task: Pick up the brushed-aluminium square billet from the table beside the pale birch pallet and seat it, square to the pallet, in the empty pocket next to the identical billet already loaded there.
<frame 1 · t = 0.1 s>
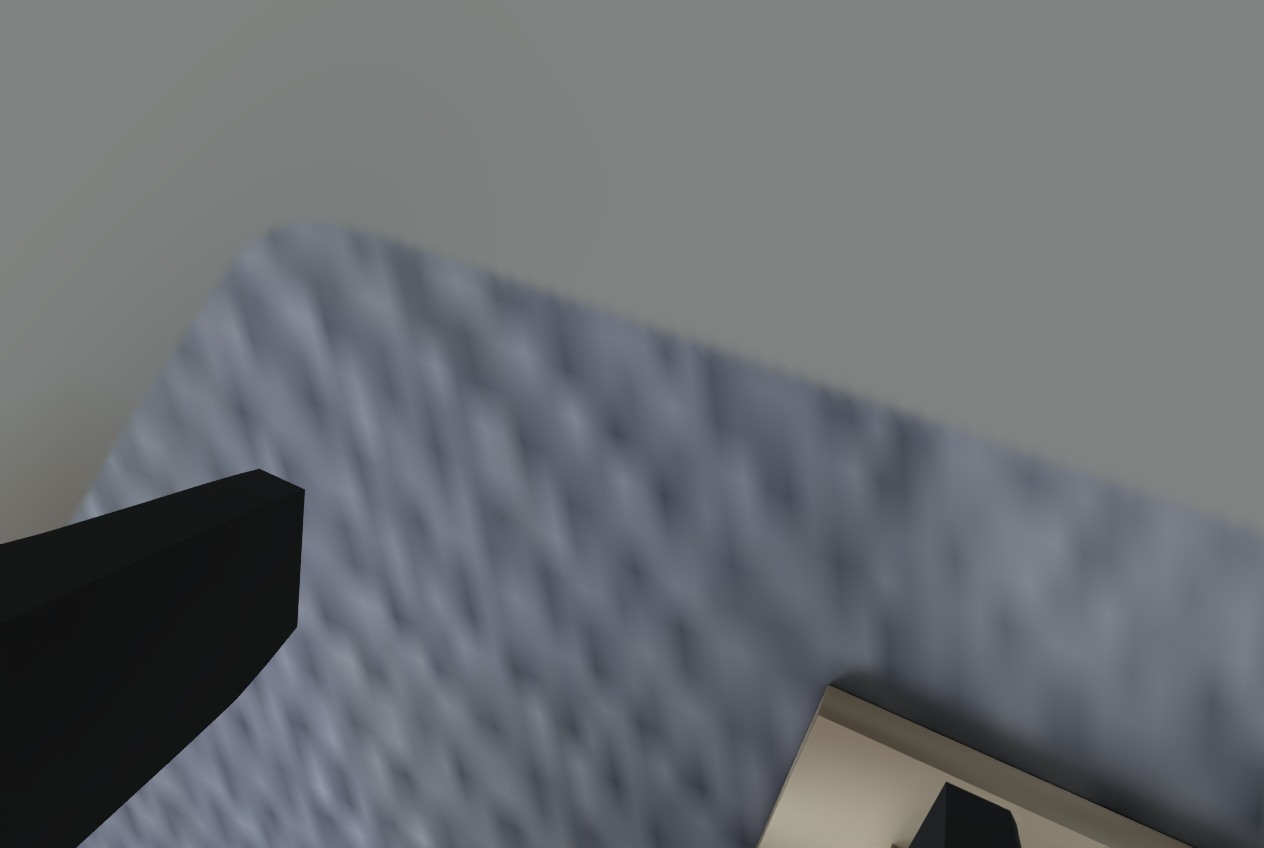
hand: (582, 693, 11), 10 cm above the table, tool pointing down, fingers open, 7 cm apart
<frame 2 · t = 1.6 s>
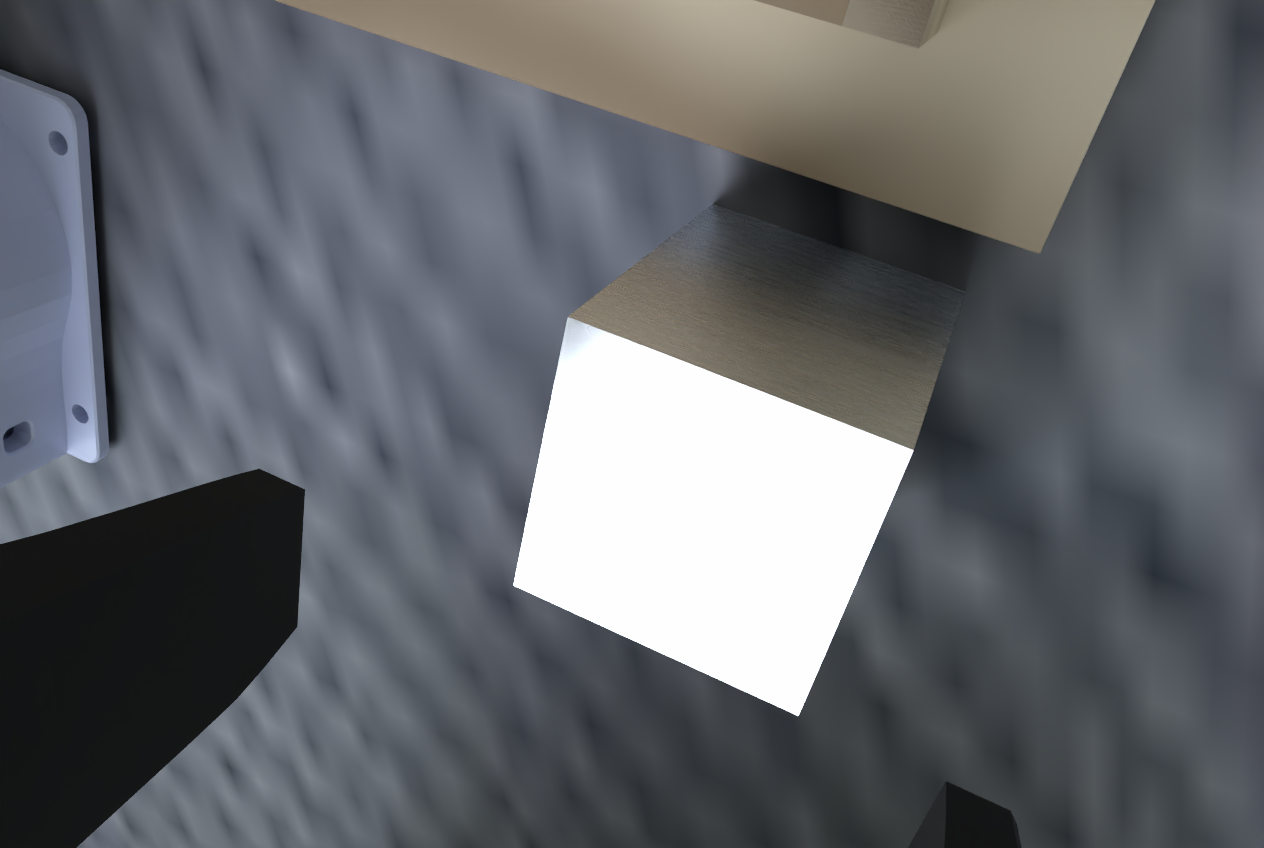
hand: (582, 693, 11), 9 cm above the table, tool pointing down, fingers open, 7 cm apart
billet: (796, 360, 18), on the table
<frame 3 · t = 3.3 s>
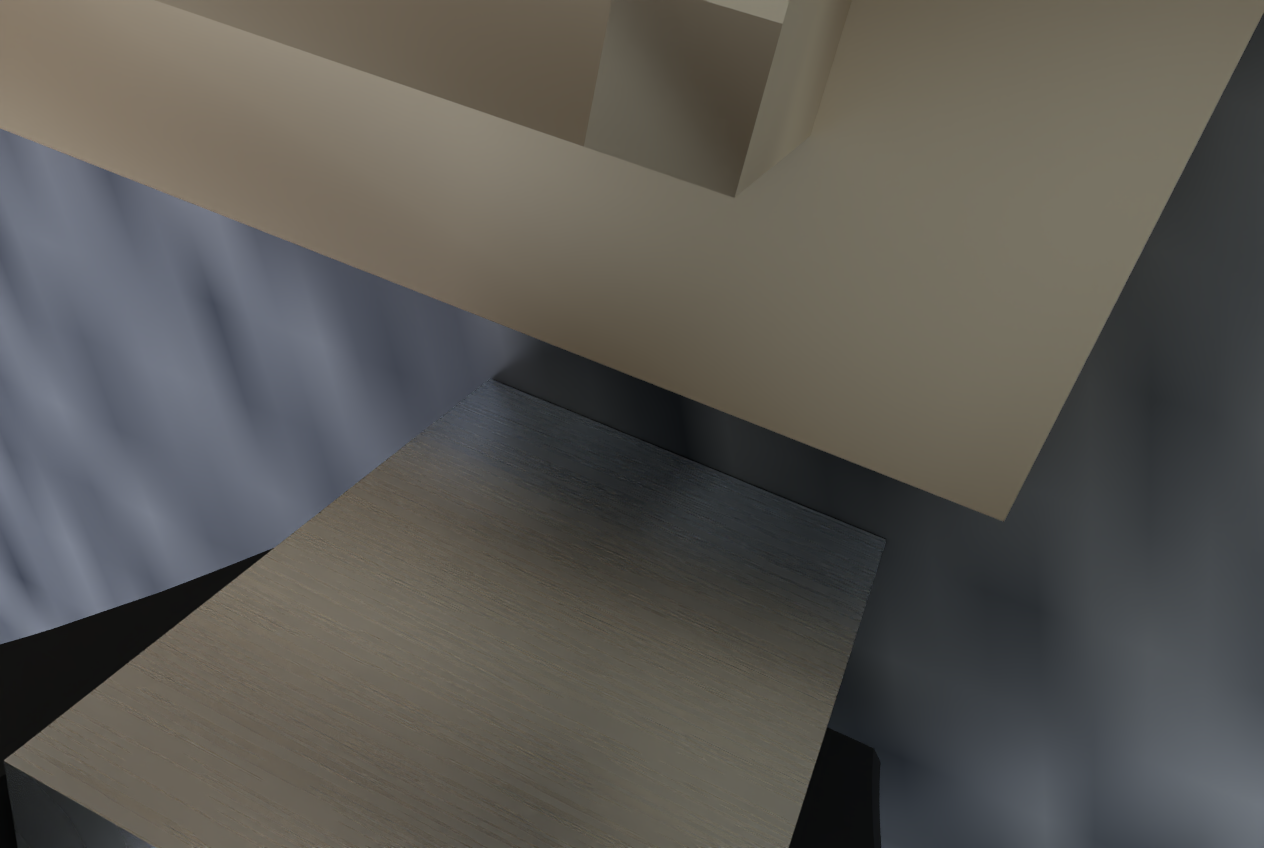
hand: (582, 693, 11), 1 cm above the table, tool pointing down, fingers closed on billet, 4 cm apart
billet: (633, 614, 12), on the table, touching gripper
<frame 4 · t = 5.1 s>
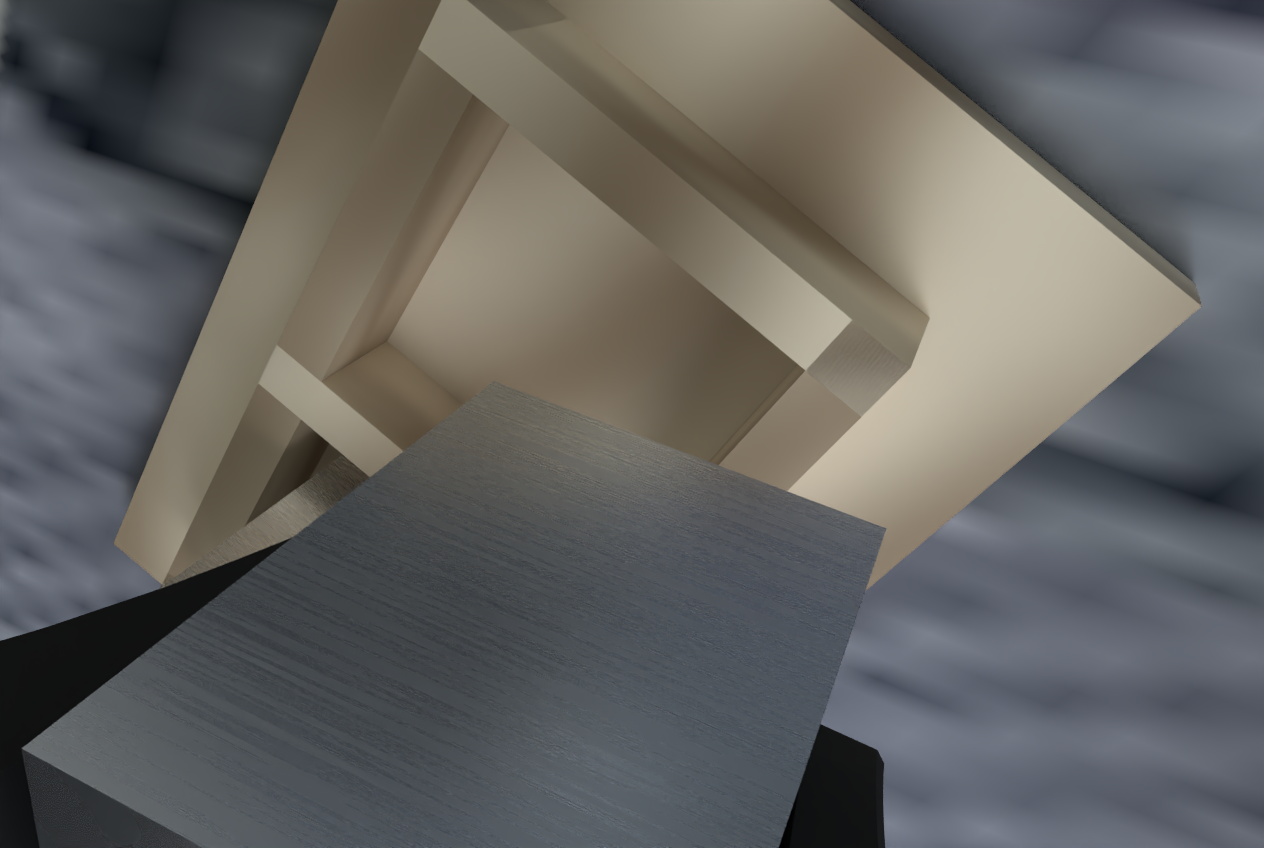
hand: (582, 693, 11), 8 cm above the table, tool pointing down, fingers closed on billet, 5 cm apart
billet: (640, 610, 12), point 7 cm above the table, touching gripper
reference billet: (422, 563, 21), point 1 cm above the table, touching pallet
pallet: (521, 437, 20), on the table
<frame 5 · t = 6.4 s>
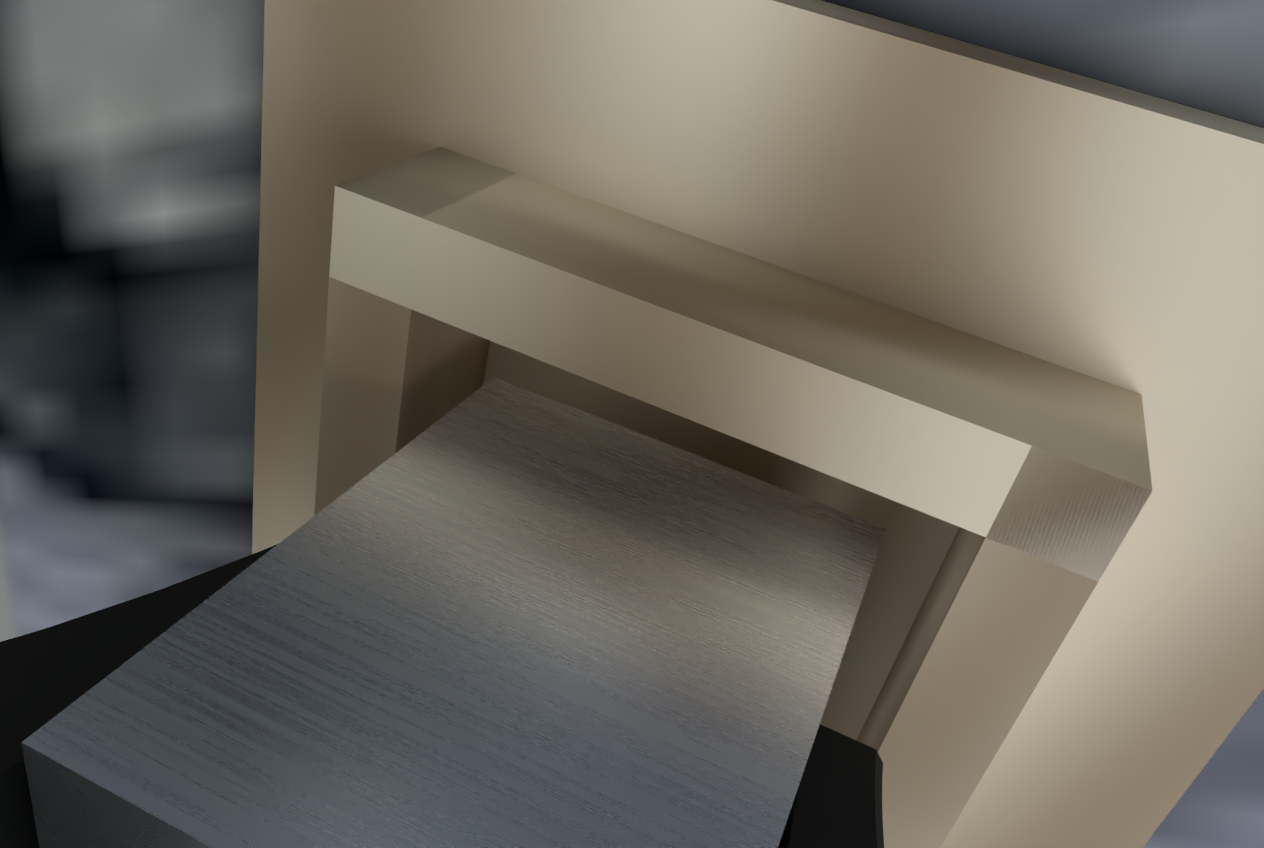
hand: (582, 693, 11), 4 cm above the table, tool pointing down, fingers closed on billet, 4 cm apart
billet: (639, 608, 12), point 2 cm above the table, touching gripper
pallet: (644, 688, 16), on the table
when the fingers open (4 cm above the table, at t = 7.0 s): billet drops 1 cm, resting on pallet.
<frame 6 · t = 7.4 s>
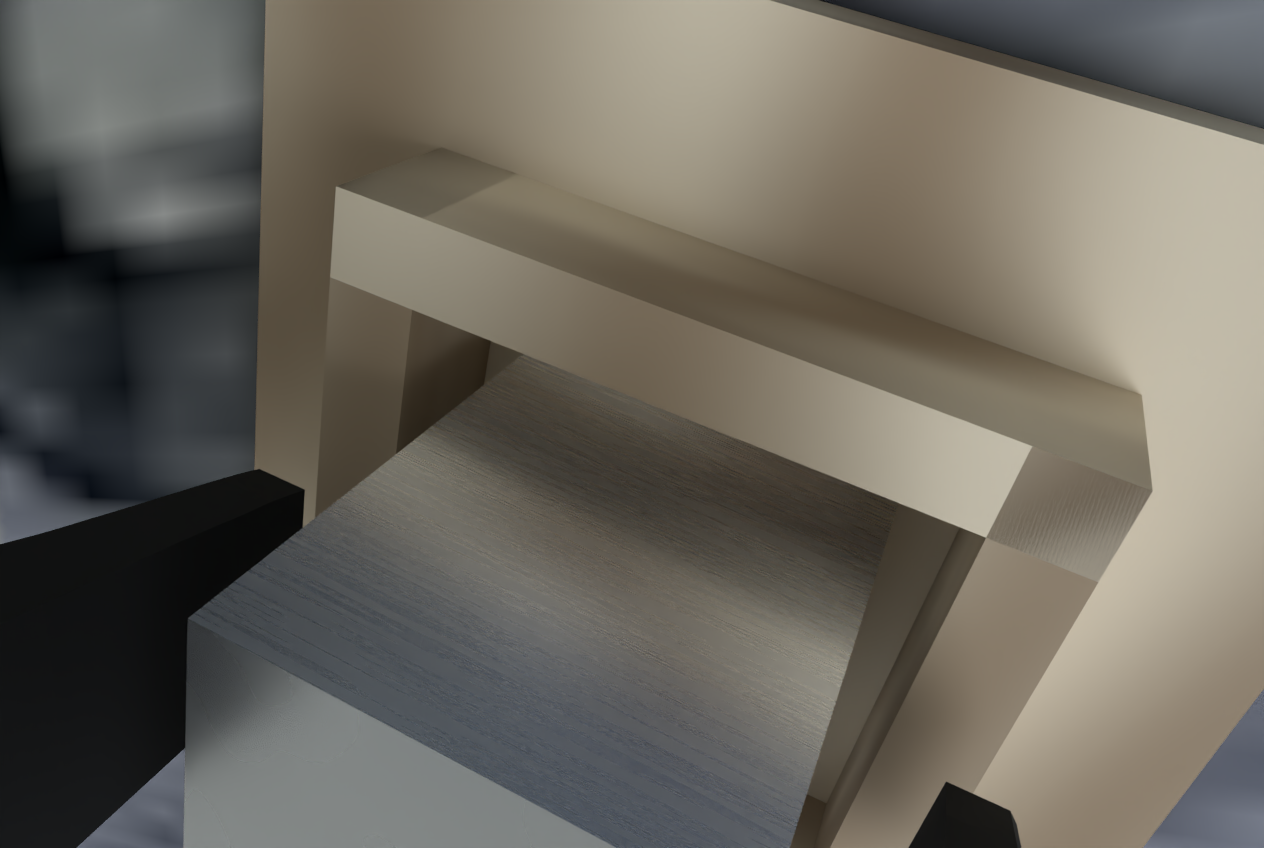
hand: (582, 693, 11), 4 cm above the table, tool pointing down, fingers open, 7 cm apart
billet: (671, 549, 13), point 1 cm above the table, touching pallet
pallet: (645, 689, 16), on the table
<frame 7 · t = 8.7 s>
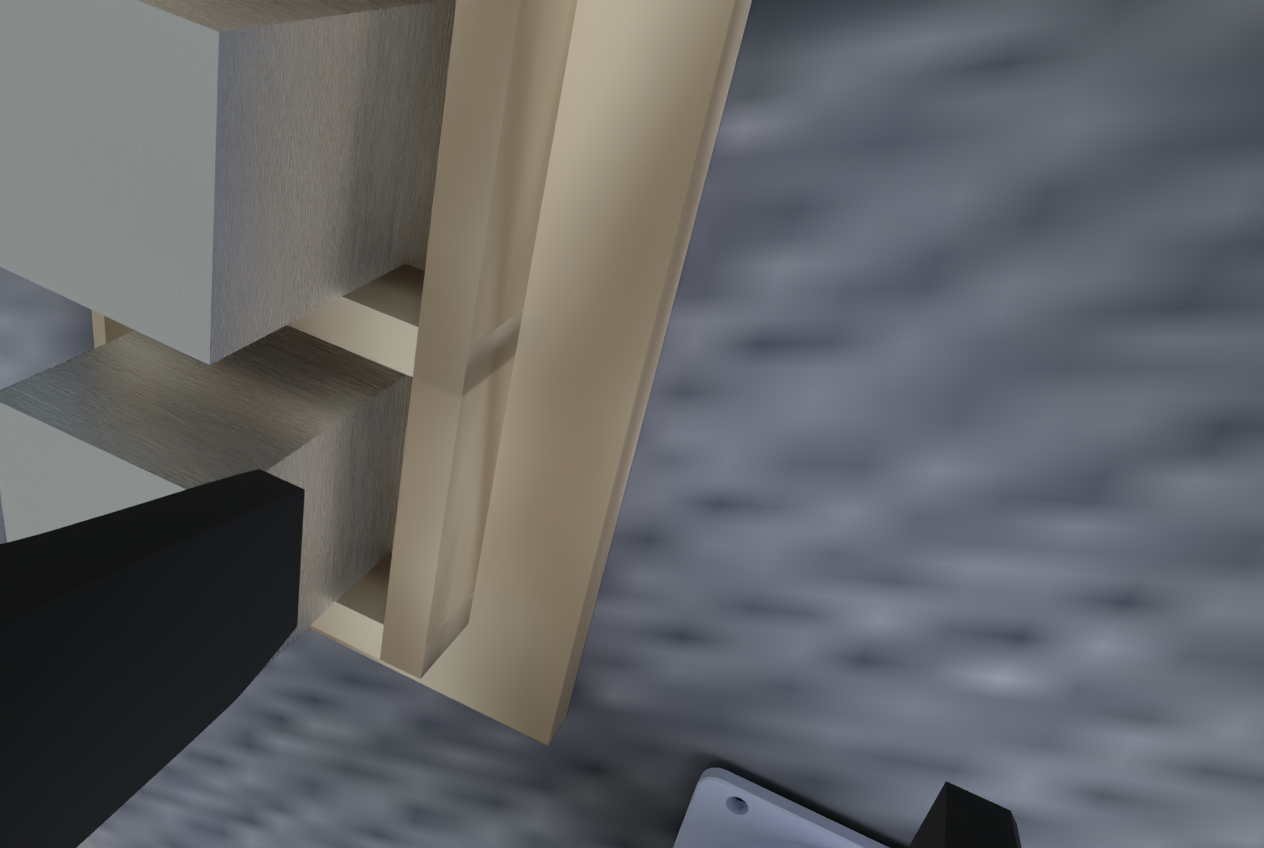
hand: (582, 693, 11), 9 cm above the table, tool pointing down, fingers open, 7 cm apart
billet: (349, 86, 18), point 1 cm above the table, touching pallet
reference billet: (330, 411, 22), point 1 cm above the table, touching pallet
pallet: (370, 248, 21), on the table
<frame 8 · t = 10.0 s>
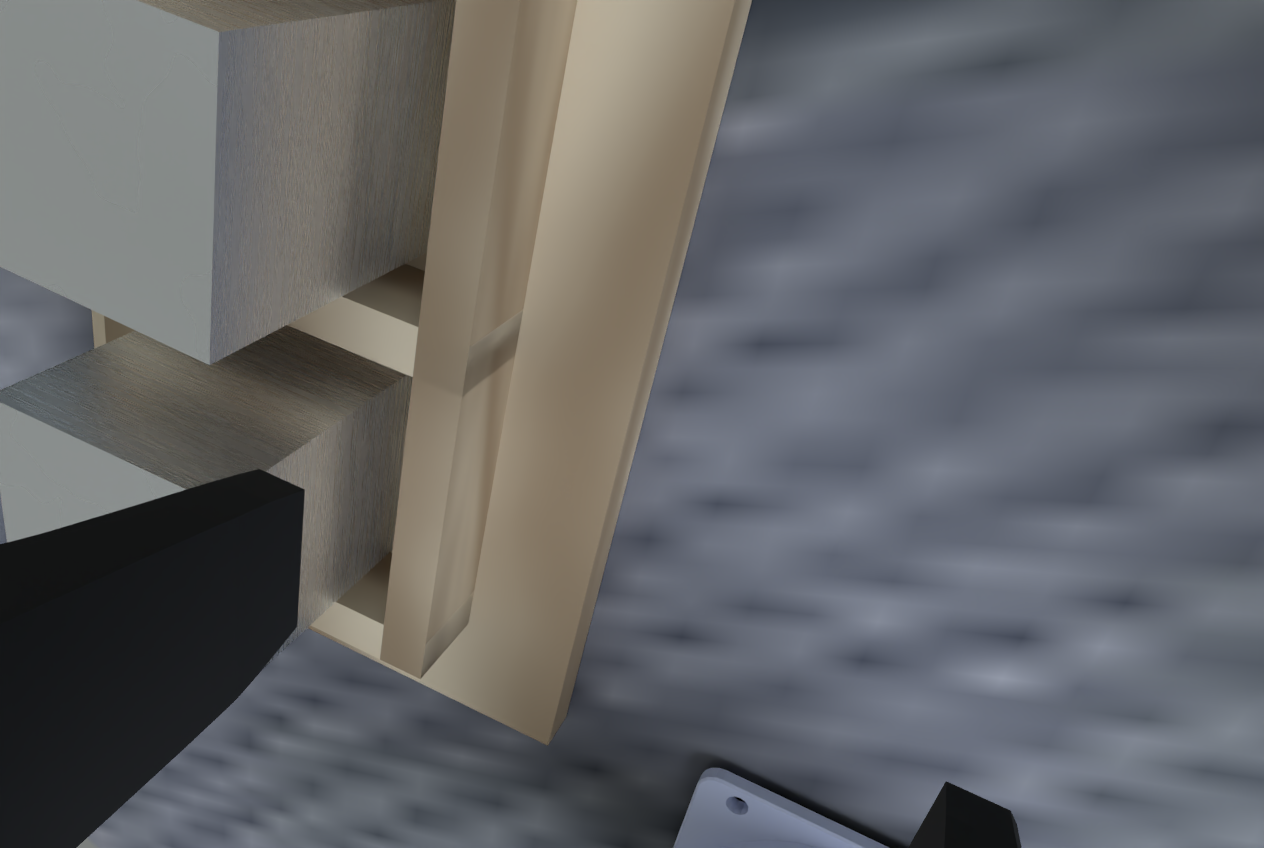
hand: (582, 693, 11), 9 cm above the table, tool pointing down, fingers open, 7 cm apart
billet: (349, 87, 18), point 1 cm above the table, touching pallet
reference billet: (330, 411, 22), point 1 cm above the table, touching pallet
pallet: (370, 248, 21), on the table
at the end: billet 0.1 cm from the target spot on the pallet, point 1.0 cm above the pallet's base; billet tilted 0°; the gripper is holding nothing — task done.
